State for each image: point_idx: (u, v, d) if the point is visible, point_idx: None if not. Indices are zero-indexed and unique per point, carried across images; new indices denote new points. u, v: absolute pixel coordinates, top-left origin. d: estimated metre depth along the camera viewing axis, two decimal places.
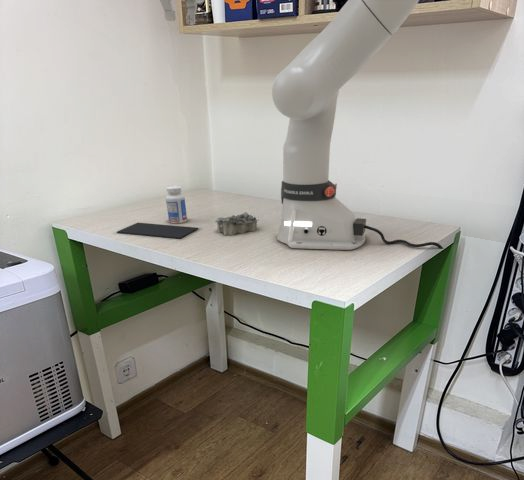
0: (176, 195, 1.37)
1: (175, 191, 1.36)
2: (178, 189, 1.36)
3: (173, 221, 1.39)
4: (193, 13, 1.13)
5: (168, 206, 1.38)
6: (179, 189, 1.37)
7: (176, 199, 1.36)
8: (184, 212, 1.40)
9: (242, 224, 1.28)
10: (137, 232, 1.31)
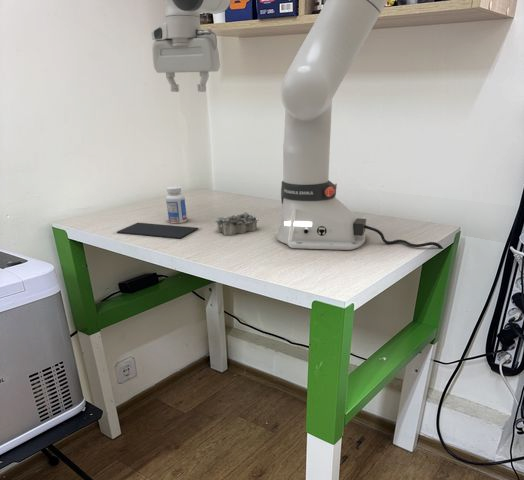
0: (176, 195, 1.37)
1: (175, 191, 1.36)
2: (178, 189, 1.36)
3: (173, 221, 1.39)
4: (175, 83, 1.32)
5: (168, 206, 1.38)
6: (179, 189, 1.36)
7: (176, 199, 1.36)
8: (184, 212, 1.40)
9: (242, 224, 1.28)
10: (137, 232, 1.31)
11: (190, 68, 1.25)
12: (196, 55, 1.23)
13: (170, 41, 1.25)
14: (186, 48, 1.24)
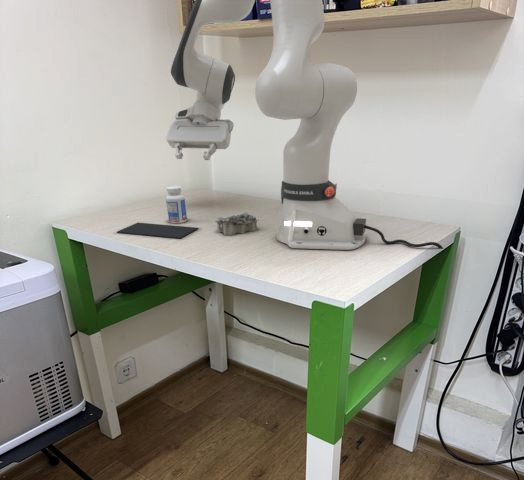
0: (176, 195, 1.37)
1: (175, 191, 1.36)
2: (178, 189, 1.36)
3: (173, 221, 1.39)
4: None
5: (168, 206, 1.38)
6: (179, 189, 1.37)
7: (176, 199, 1.36)
8: (184, 212, 1.40)
9: (242, 224, 1.28)
10: (137, 232, 1.31)
11: (203, 139, 1.43)
12: (212, 131, 1.43)
13: (191, 121, 1.46)
14: (204, 127, 1.44)
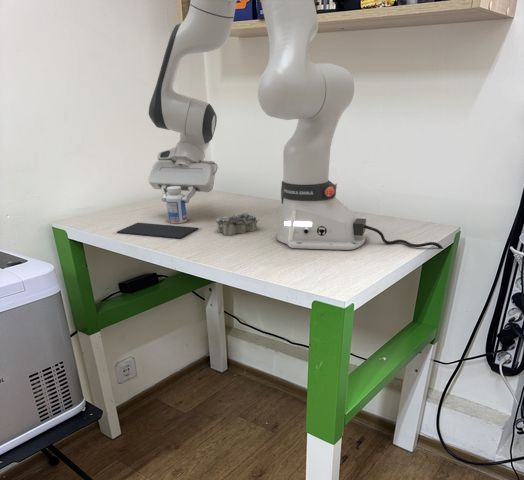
0: (176, 195, 1.37)
1: (175, 191, 1.36)
2: (178, 189, 1.36)
3: (173, 221, 1.39)
4: None
5: (168, 206, 1.38)
6: (179, 189, 1.36)
7: (176, 199, 1.36)
8: (184, 212, 1.40)
9: (242, 224, 1.28)
10: (137, 232, 1.31)
11: (185, 181, 1.37)
12: (195, 173, 1.37)
13: (173, 162, 1.40)
14: (187, 169, 1.39)
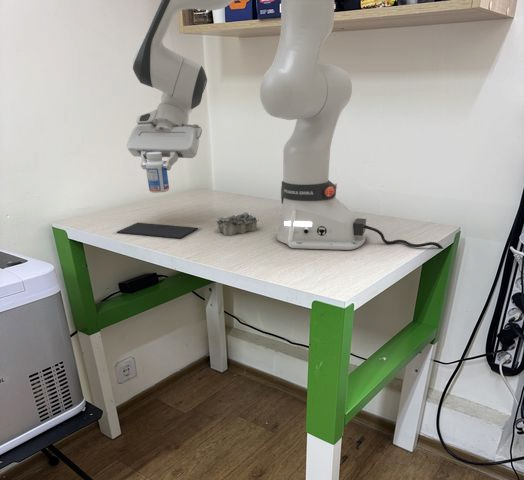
0: (156, 161, 1.25)
1: (155, 156, 1.24)
2: (159, 154, 1.25)
3: (154, 190, 1.28)
4: None
5: (148, 173, 1.26)
6: (160, 154, 1.25)
7: (157, 165, 1.25)
8: (166, 181, 1.28)
9: (242, 224, 1.28)
10: (137, 232, 1.31)
11: (166, 146, 1.26)
12: (177, 137, 1.25)
13: (154, 126, 1.29)
14: (169, 133, 1.27)
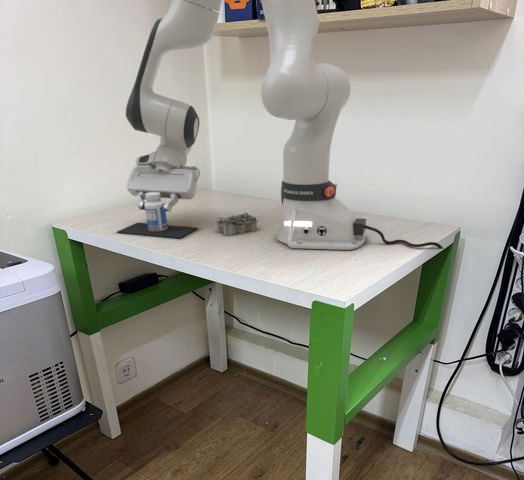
0: (155, 202, 1.28)
1: (154, 197, 1.27)
2: (157, 195, 1.27)
3: (152, 229, 1.30)
4: None
5: (147, 213, 1.29)
6: (158, 195, 1.27)
7: (155, 206, 1.27)
8: (164, 220, 1.31)
9: (242, 224, 1.28)
10: (137, 232, 1.31)
11: (165, 188, 1.28)
12: (175, 179, 1.28)
13: (153, 167, 1.31)
14: (167, 174, 1.30)
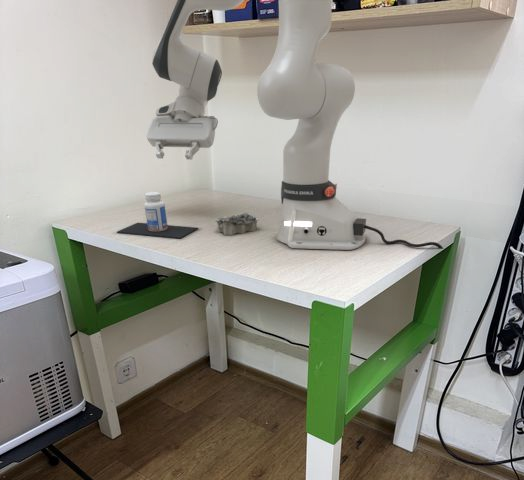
0: (155, 202, 1.28)
1: (154, 197, 1.27)
2: (157, 195, 1.27)
3: (152, 229, 1.30)
4: None
5: (147, 213, 1.29)
6: (158, 195, 1.27)
7: (155, 206, 1.27)
8: (164, 220, 1.31)
9: (242, 224, 1.28)
10: (137, 232, 1.31)
11: (185, 137, 1.33)
12: (194, 128, 1.33)
13: (172, 117, 1.36)
14: (186, 124, 1.35)
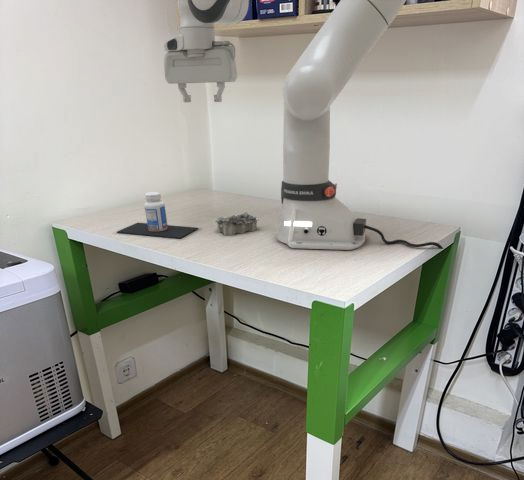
0: (155, 202, 1.28)
1: (154, 197, 1.27)
2: (157, 195, 1.27)
3: (152, 229, 1.30)
4: None
5: (147, 213, 1.29)
6: (158, 195, 1.27)
7: (155, 206, 1.27)
8: (164, 220, 1.31)
9: (242, 224, 1.28)
10: (137, 232, 1.31)
11: (207, 79, 1.26)
12: (213, 66, 1.24)
13: (184, 52, 1.25)
14: (203, 59, 1.24)
